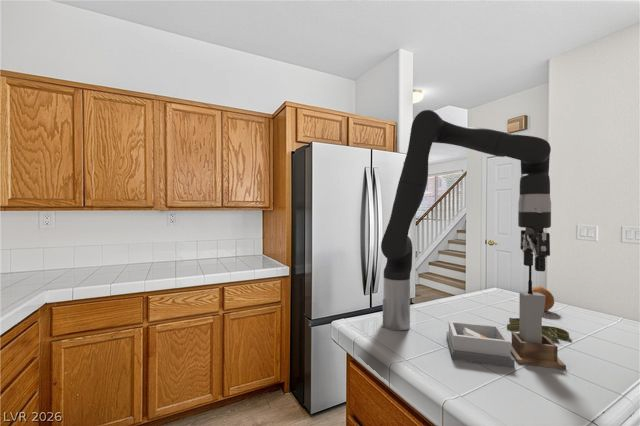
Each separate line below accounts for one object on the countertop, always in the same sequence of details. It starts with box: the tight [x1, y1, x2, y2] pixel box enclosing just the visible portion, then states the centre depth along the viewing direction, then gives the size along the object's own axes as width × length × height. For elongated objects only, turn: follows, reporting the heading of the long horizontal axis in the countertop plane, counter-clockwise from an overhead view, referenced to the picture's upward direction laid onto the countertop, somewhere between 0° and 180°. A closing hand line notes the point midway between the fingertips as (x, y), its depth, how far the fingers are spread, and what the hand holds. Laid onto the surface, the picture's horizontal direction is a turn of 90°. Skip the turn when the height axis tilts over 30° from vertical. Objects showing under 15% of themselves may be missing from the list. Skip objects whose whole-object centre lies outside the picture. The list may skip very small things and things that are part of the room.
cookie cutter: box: [506, 317, 570, 343], centre depth 103 cm, size 18×12×2 cm, turn 41°
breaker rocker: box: [463, 327, 487, 338], centre depth 88 cm, size 7×4×2 cm, turn 73°
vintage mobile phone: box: [518, 264, 546, 344], centre depth 85 cm, size 4×5×25 cm
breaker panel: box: [446, 320, 516, 368], centre depth 88 cm, size 15×15×6 cm
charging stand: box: [511, 331, 567, 370], centre depth 85 cm, size 11×11×5 cm
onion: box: [532, 285, 555, 312], centre depth 125 cm, size 10×10×10 cm
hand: (533, 268), depth 85 cm, fingers open, 8 cm apart
